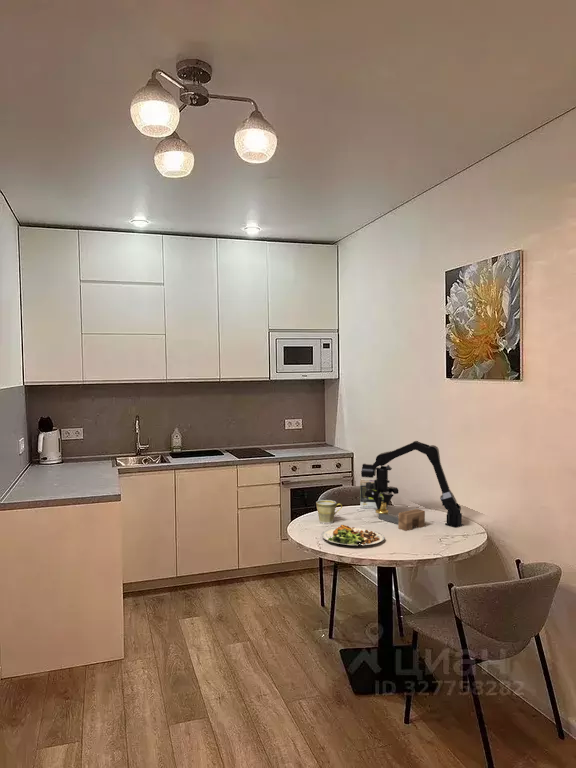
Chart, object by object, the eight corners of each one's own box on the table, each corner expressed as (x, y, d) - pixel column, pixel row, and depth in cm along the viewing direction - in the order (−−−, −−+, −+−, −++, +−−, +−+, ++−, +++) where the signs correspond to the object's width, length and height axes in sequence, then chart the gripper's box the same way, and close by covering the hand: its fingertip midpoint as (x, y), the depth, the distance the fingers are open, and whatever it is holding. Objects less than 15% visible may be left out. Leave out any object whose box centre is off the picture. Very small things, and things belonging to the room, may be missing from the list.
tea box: (387, 505, 319) (387, 478, 319) (387, 509, 309) (388, 482, 309) (360, 504, 321) (360, 478, 321) (359, 508, 311) (360, 481, 311)
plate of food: (338, 552, 236) (339, 538, 236) (311, 534, 262) (311, 521, 262) (396, 547, 247) (397, 533, 247) (364, 530, 272) (365, 517, 272)
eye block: (424, 526, 275) (424, 511, 275) (406, 530, 268) (406, 515, 268) (416, 524, 279) (416, 509, 279) (398, 528, 272) (398, 512, 272)
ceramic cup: (316, 525, 277) (316, 504, 277) (315, 519, 287) (315, 499, 287) (343, 524, 278) (343, 504, 278) (340, 519, 288) (340, 499, 288)
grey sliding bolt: (408, 523, 279) (408, 507, 279) (399, 525, 275) (399, 509, 275) (381, 515, 294) (381, 500, 294) (372, 517, 290) (372, 502, 290)
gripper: (383, 474, 301) (383, 503, 301) (357, 477, 290) (357, 508, 290) (399, 477, 292) (399, 507, 292) (373, 481, 281) (373, 512, 281)
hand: (381, 508), depth 289 cm, fingers closed on grey sliding bolt, 4 cm apart
